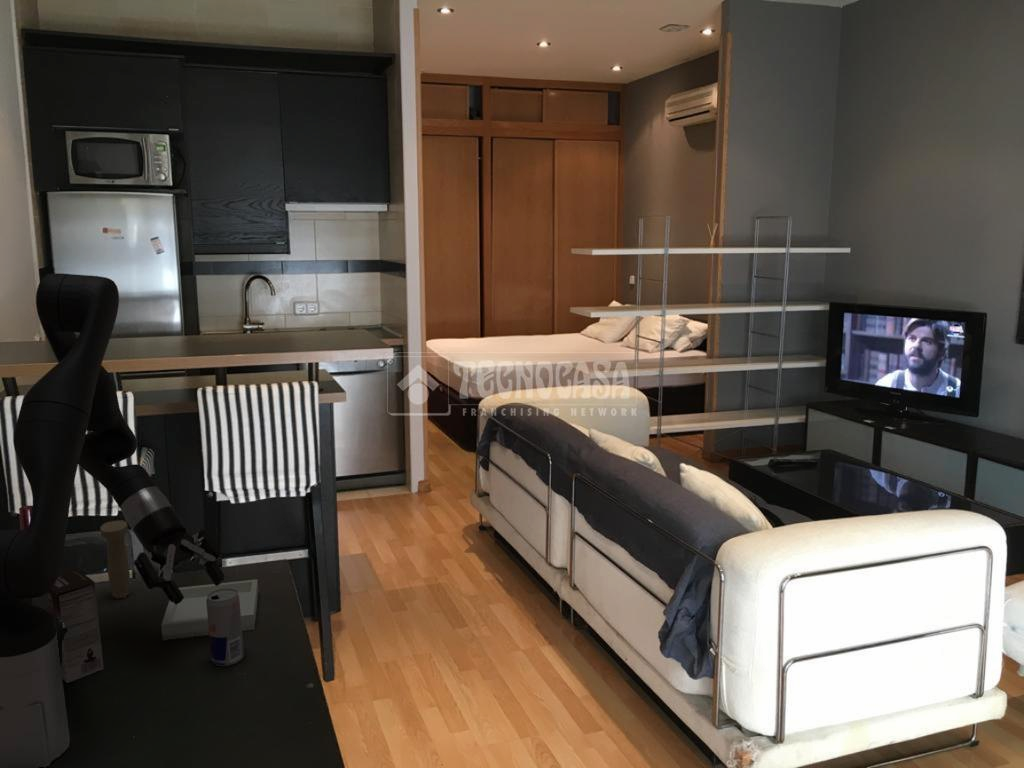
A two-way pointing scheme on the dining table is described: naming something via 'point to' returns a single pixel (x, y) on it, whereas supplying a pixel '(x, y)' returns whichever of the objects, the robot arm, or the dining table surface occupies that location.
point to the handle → (117, 557)
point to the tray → (193, 609)
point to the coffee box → (77, 624)
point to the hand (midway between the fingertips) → (200, 591)
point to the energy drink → (225, 627)
